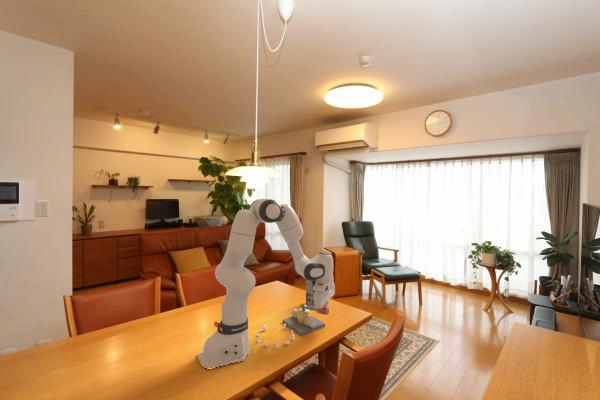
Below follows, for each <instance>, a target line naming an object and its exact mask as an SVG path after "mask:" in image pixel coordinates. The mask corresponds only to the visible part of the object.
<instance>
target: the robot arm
mask: <svg viewBox="0 0 600 400" xmlns="http://www.w3.org/2000/svg"><path fill="white" fill-rule="evenodd" d="M260 223H265V224H266V223H268V224H272V223H275V224H276V226H277V228H278V230H279V232H280V235H281V237H282V238H283V239H284V241H285V243H286V245H287V247H288V250H289V253H290V254H291V257H292V262H293V263H292V265H293V270H294V272H295V273H296V274H298V275H299V276H301V277H302V278H303V279H307V280H310V281H313V280H316V283H315V284H314V286H313V290H314V305H315V306H314V307H317V308H319V307H323V308H328V306H329V301H330V300H331V299H332V298H333V297H334V296H335V294H336V285H335V282H334V274H333V273H334V258H333V255H331V254H330V253H328V252H323V251H321V252H317V254H316V255H315V256H314V257H312V258H311V259H310V258H308V256H306V255H305V254H304V251H303V249H302V248H303V247H302V246H301V244H300V240H301V239H302V238H303V235H304V227H303V226H302V223H301V221H300V219H299V217H298V214H297V213H296V211H295V210H294V208H293V206H292V205H290V204H289V203H283V204H280V203H279V201H276V200H275V199H272V198H271V199H270V198H269V199H268V198H260V199H256V200H254V201H253V202H252V203H250V205H249V206H248V207H247V209H240V210H238V211H237V212H236V214H235V217H234V219H233V222H232V225H231V228H230V234H229V238H228V241H227V242H228V244H227V247H226V250H225V253H224V255H223V257H222V260H221V262H220V263H219V264H217V266H216V268H215V270H214V276H215V278H216V280H217V281H218V283H219V284H221V285H222V286H223V287H225V289H226V293H225V294H226V295H225V298H224V300H223V301H222V303H221V320H220V322H219V321H217V320H216V321H214V322H213V326H214V327H215V328H217V329H216V330H215V331H214V333H212V334H211V335H210V336H209V337H208V338H207V339H206V340H205V342H204V344H203V349H202V350H200V351H198V354H197V360H198V359H199V361H200V363H201V364H202V365H203V366H204V367H206V368H213V367H217V366H222V365H226V364H230V363H234V362H238V363H240V361H241V362H244V361H246V358H247V355H249V353H250V352H251V351H252V350H251V344H250V341H249V335H248V334H249V333H248V330H249V319H248V299H249V296H250V293H252V291H253V290H254V289H255V286H256V283H257V280H256V276H255V275H254V274H253V273H252V271H251V270H250V269H249V268H247V267H244V265H245V262H246V260H247V259H248V257H249V256H250V255H251V254H252V253H253V248H254V243H255V237H256V234H257V229H258V226H259V224H260ZM328 309H329V308H328ZM200 355H201V356H200ZM199 361H198V362H199ZM200 363H199V364H200ZM201 364H200V365H201ZM206 364H207V365H206ZM234 364H235V363H234ZM230 365H231V364H230ZM226 366H227V365H226ZM204 367H203V368H204ZM222 367H223V366H222Z"/></svg>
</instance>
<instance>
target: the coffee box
mask: <svg viewBox="0 0 600 400" xmlns="http://www.w3.org/2000/svg"><path fill="white" fill-rule="evenodd" d="M315 283H316V280H313V281H310V280H307V279H306V280H305V304H306V305H308V306H313V307H316V306H315V305H314V290H313V286H314V284H315Z"/></svg>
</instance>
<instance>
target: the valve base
mask: <svg viewBox="0 0 600 400" xmlns="http://www.w3.org/2000/svg"><path fill="white" fill-rule="evenodd" d="M282 324H283V325H284V324H286V327H289V329H291V330H292V331H293V332H295V333H296V334H298V335H300V336H304V335H307V334H309V333H312V332H315V331H317V330H319V329H322V328H324V327H326V322H323V321H322V320H320V319H318V318H317V317H315V316H313V315H312V314H311V310H309V309H303V308H301V307H300V308H298V309H297V308H293V309H292V310H291V316H290V317H287V318H284V319H282Z"/></svg>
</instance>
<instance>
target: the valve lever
mask: <svg viewBox="0 0 600 400" xmlns="http://www.w3.org/2000/svg"><path fill="white" fill-rule="evenodd" d="M300 308H303V309H309V310H310V311H314V312H317V314H321V315H325V316H327V315H329V313H330V308H323V306H322V307H316V306H310V305H307V304H306V303H301V305H300Z"/></svg>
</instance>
